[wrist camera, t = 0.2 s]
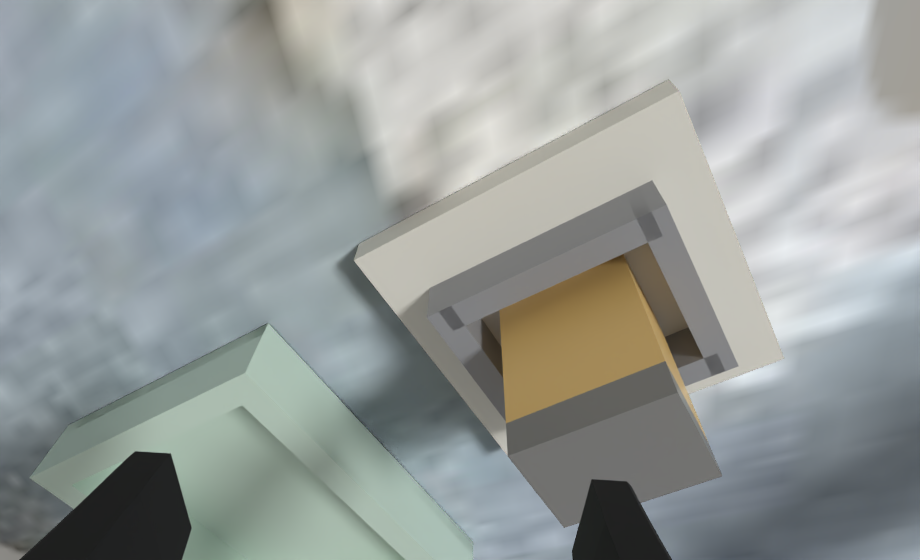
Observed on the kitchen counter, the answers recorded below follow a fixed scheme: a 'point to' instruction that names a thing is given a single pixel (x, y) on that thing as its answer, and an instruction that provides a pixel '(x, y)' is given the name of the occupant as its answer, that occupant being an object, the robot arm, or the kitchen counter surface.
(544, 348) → the block
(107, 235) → the kitchen counter surface
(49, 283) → the kitchen counter surface
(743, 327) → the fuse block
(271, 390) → the parts tray
